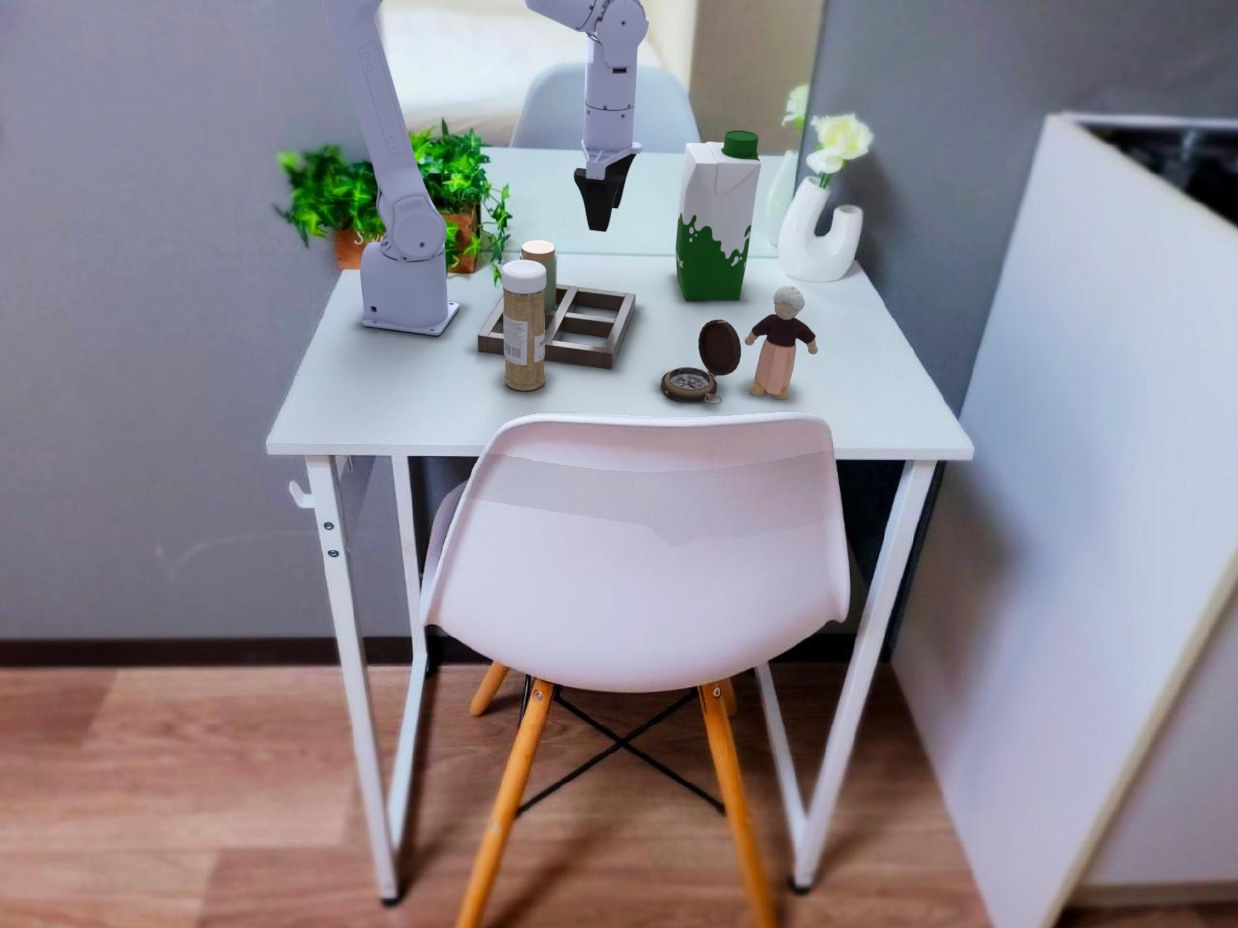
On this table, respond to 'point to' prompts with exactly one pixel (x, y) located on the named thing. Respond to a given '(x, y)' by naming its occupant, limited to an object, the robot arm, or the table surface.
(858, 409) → the table surface
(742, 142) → the milk carton
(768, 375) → the grandmother figurine
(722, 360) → the compass
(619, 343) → the holder
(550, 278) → the spice jar
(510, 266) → the sprinkles bottle
